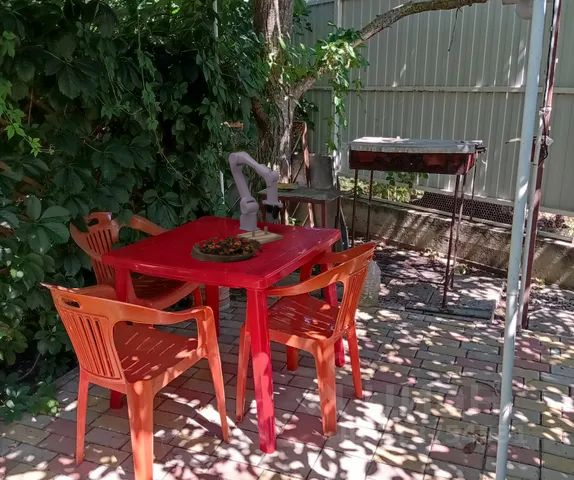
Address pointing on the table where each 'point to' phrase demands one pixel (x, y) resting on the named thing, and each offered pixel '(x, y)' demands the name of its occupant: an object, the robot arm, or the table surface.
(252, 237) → the base plate
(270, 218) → the jaw block
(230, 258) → the food dish
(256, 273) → the table surface
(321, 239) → the table surface
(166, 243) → the table surface
